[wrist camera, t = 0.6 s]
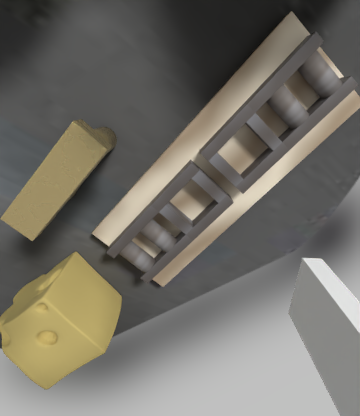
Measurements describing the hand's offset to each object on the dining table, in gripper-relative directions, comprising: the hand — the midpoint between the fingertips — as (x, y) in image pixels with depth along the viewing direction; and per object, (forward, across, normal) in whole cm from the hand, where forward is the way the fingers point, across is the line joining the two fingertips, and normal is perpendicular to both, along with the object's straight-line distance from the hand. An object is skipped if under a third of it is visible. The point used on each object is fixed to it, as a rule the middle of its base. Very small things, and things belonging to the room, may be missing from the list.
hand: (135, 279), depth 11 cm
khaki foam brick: (+24, -10, -1) cm, 25 cm away
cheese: (+24, -12, -20) cm, 33 cm away
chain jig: (+23, +6, -1) cm, 24 cm away
